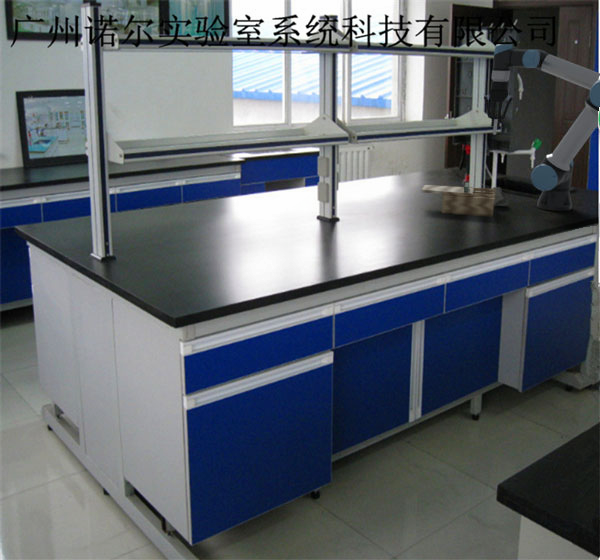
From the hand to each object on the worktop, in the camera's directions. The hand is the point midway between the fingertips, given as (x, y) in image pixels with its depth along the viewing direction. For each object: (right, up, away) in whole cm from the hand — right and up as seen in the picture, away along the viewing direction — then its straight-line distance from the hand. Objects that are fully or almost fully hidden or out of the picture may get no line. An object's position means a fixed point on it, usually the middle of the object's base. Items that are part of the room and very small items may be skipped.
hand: (494, 134), depth 326 cm
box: (-14, -36, -6) cm, 39 cm away
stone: (+1, -32, +6) cm, 33 cm away
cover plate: (-23, -27, -6) cm, 36 cm away
